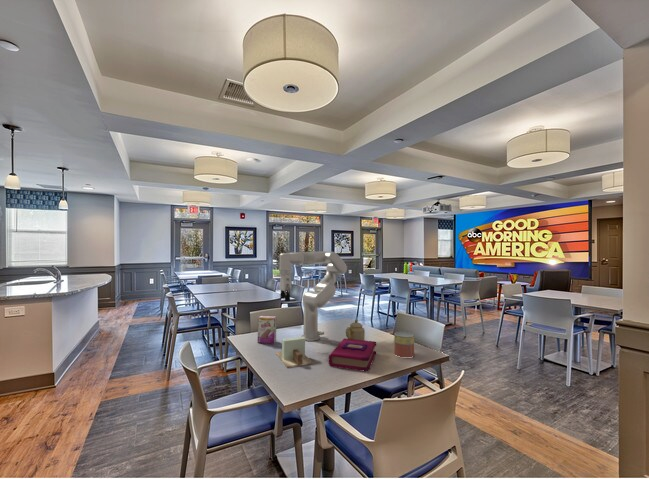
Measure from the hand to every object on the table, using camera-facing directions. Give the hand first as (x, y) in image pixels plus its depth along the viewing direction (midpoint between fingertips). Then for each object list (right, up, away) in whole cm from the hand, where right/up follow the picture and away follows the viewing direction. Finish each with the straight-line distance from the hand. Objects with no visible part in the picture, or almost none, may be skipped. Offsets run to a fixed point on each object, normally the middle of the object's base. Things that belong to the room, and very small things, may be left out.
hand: (285, 299), depth 190 cm
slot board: (+8, -28, -23) cm, 37 cm away
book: (+41, -29, -23) cm, 56 cm away
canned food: (+71, -29, -16) cm, 78 cm away
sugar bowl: (+45, -29, +6) cm, 54 cm away
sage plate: (+8, -27, -23) cm, 37 cm away
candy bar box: (-12, -29, +4) cm, 31 cm away
